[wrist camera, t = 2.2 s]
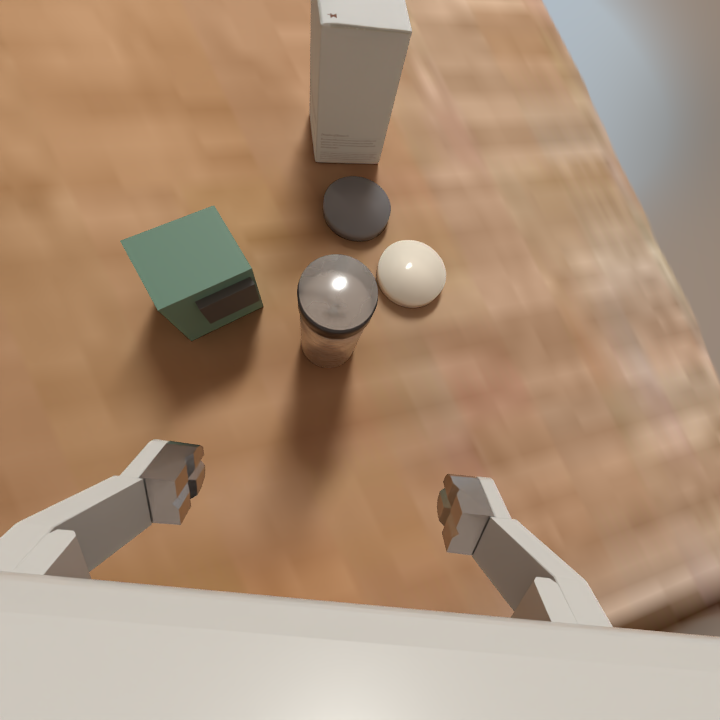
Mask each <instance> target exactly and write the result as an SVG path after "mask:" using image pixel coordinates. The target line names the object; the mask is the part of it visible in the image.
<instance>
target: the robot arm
mask: <svg viewBox="0 0 720 720" xmlns="http://www.w3.org/2000/svg"><path fill="white" fill-rule="evenodd" d="M203 456H204V450H203V446H201V445H195V444H188V443H181V442H174V441H164V440H157V439H154V440H152V441H150V442H149V443H148V444H147V445H146V446H145V447H144V448H143V450H142V451H141V452H140V453H139V454H138V455H137V456H136V458H135V459H134V460H133V461H132V462H131V463H130V464H129V466H128V467H127V468H126V469H125V470H124V471H123V472H122V474H121V475H120V476H113V477H110V478H108V479H106V480H104V481H102V482H100V483H98V484H96V485H94V486H92V487H90V488H88V489H86V490H84V491H82V492H80V493H78V494H75V495H73V496H71V497H69V498H67V499H65V500H63V501H61V502H59V503H57V504H55V505H53V506H51V507H49V508H47V509H45V510H43V511H40V512H38V513H36V514H34V515H32V516H30V517H28V518H26V519H24V520H22V521H20V522H18V523H16V524H15V525H14V526H13V527H12V528H11V529H9V530H8V531H7V532H6V533H5V534H4V535H3V536H2V537H1V538H0V720H720V637H715V636H704V635H692V634H682V633H671V632H660V631H648V630H637V629H627V628H616V627H613V626H612V625H611V623H610V621H609V620H608V618H607V616H606V614H605V613H604V611H603V609H602V607H601V606H600V604H599V602H598V601H597V599H596V597H595V595H594V594H593V592H592V590H591V588H590V587H589V585H588V583H587V582H586V580H585V579H583V578H582V577H581V576H580V575H579V574H578V573H577V572H575V571H574V570H573V569H572V568H571V567H570V566H569V565H567V564H566V563H565V562H564V561H563V560H562V559H561V558H559V557H558V556H557V555H556V554H555V553H554V552H553V551H551V550H550V549H549V548H548V547H547V546H546V545H545V544H543V543H542V542H541V541H540V540H539V539H538V538H537V537H535V536H534V535H533V534H532V533H531V532H530V531H528V530H527V529H526V528H525V527H524V526H523V525H522V524H520V523H519V522H518V521H517V520H515V519H511V517H510V514H509V512H508V510H507V508H506V506H505V504H504V502H503V500H502V497H501V495H500V493H499V491H498V489H497V487H496V485H495V483H494V481H493V480H492V479H491V478H485V477H474V476H464V475H455V474H447V475H446V476H445V478H444V481H443V483H444V487H445V488H444V489H443V490H441V491H440V493H439V496H438V501H437V513H438V518H439V521H440V522H441V523H442V524H443V525H444V529H443V531H442V535H443V539H444V543H445V548H446V552H450V553H458V554H465V555H473V556H472V557H473V558H474V560H475V561H476V562H477V564H478V565H479V566H480V568H481V569H482V570H483V571H484V573H485V574H486V575H487V577H488V578H489V579H490V581H491V582H492V583H493V585H494V586H495V587H496V588H497V590H498V591H499V592H500V594H501V595H502V596H503V598H504V599H505V600H506V601H507V603H508V604H509V605H510V607H511V608H512V609H513V611H514V613H513V615H512V616H511V618H507V617H497V616H486V615H475V614H464V613H453V612H442V611H431V610H420V609H409V608H398V607H387V606H376V605H365V604H354V603H343V602H332V601H321V600H310V599H300V598H289V597H278V596H267V595H257V594H246V593H235V592H224V591H213V590H202V589H192V588H181V587H170V586H159V585H148V584H137V583H126V582H116V581H105V580H94V579H91V576H90V573H89V572H90V571H91V570H92V569H94V568H95V567H96V566H98V565H99V564H100V563H102V562H103V561H104V560H106V559H107V558H108V557H110V556H111V555H112V554H113V553H115V552H116V551H117V550H119V549H120V548H121V547H123V546H124V545H125V544H127V543H128V542H129V541H130V540H132V539H133V538H134V537H136V536H137V535H138V534H140V533H141V532H142V531H144V530H145V529H146V528H148V527H149V526H150V525H151V524H152V523H163V524H177V525H181V523H182V522H183V520H184V518H185V516H186V515H187V513H188V511H189V509H190V507H191V501H190V499H192V498H193V497H195V496H196V495H198V493H199V491H200V489H201V487H202V484H203V481H204V478H205V465H204V463H203V462H202V461H201V459H202V457H203Z"/></svg>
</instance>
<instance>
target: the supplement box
mask: <svg viewBox="0 0 720 720" xmlns="http://www.w3.org/2000/svg"><path fill="white" fill-rule="evenodd" d="M411 34H412V29H411V25H410V20H409V16H408V11H407V7H406V3H405V0H311V43H310V122H311V131H312V140H313V148H314V156H315V161H316V162H326V163H358V164H377V163H378V162H379V160H380V156H381V152H382V148H383V144H384V140H385V136H386V132H387V128H388V124H389V120H390V116H391V112H392V108H393V104H394V100H395V96H396V92H397V88H398V84H399V80H400V76H401V72H402V69H403V65H404V61H405V57H406V53H407V49H408V45H409V41H410V37H411Z"/></svg>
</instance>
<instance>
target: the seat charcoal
mask: <svg viewBox="0 0 720 720" xmlns="http://www.w3.org/2000/svg"><path fill="white" fill-rule="evenodd" d="M390 211H391V207H390V202H389V199H388V196H387V195H386V193H385V192H384V190H383V189H382V188H381V187H380V186H379V185H377V184H376V183H374V182H373V181H371V180H369V179H366V178H363V177H357V176H349V177H344V178H341V179H338V180H336V181H335V182H333V183H332V184H331V185H330V186H329V187H328V189H327V190H326V193H325V195H324V203H323V214H324V218H325V221H326V223H327V224H328V226H329V227H330V228H331V229H332V230H333V231H334V232H335V233H336V234H337V235H339V236H341V237H343V238H345V239H348V240H351V241H367V240H371V239H373V238H375V237H377V236H378V235H379V234H381V233H382V231H383V230H384V229H385V227H386V225H387V222H388V219H389V216H390Z"/></svg>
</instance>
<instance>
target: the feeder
mask: <svg viewBox="0 0 720 720" xmlns="http://www.w3.org/2000/svg"><path fill="white" fill-rule="evenodd" d="M120 242H121V243H122V245H123V247H124V249H125V251H126V253H127V254H128V256H129V258H130V260H131V262H132V264H133V266H134V267H135V269H136V271H137V273H138V275H139V277H140V278H141V280H142V282H143V284H144V286H145V288H146V290H147V291H148V293H149V295H150V297H151V299H152V301H153V302H154V304H155V306H156V308H157V310H158V311H159V312H160V313H161V314H162V315H163V316H165V317H166V318H167V319H168V320H169V321H170V322H171V323H172V324H173V325H174V326H175V327H177V328H178V329H179V330H180V331H181V332H182V333H183V334H184V335H185V336H186V337H187V338H189V339H190V340H191V341H193V340H195V339H197V338H199V337H201V336H203V335H205V334H207V333H209V332H211V331H213V330H216V329H218V328H220V327H222V326H224V325H226V324H228V323H230V322H232V321H234V320H236V319H238V318H240V317H243V316H245V315H247V314H249V313H251V312H253V311H255V310H257V309H259V308H261V307H263V303H262V300H261V297H260V294H259V290H258V287H257V284H256V281H255V277H254V274H253V271H252V268H251V266H250V265H249V263H248V261H247V260H246V258H245V256H244V255H243V253H242V251H241V250H240V248H239V246H238V245H237V243H236V241H235V240H234V238H233V236H232V235H231V233H230V231H229V230H228V228H227V226H226V225H225V223H224V221H223V220H222V218H221V216H220V215H219V213H218V211H217V210H216V208H215V206H211V207H208V208H206V209H203V210H200V211H198V212H195V213H192V214H190V215H187V216H185V217H182V218H179V219H177V220H174V221H171V222H169V223H166V224H163V225H161V226H158V227H156V228H153V229H150V230H148V231H145V232H142V233H140V234H137V235H134V236H132V237H129V238H127V239H124V240H121V241H120Z"/></svg>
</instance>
